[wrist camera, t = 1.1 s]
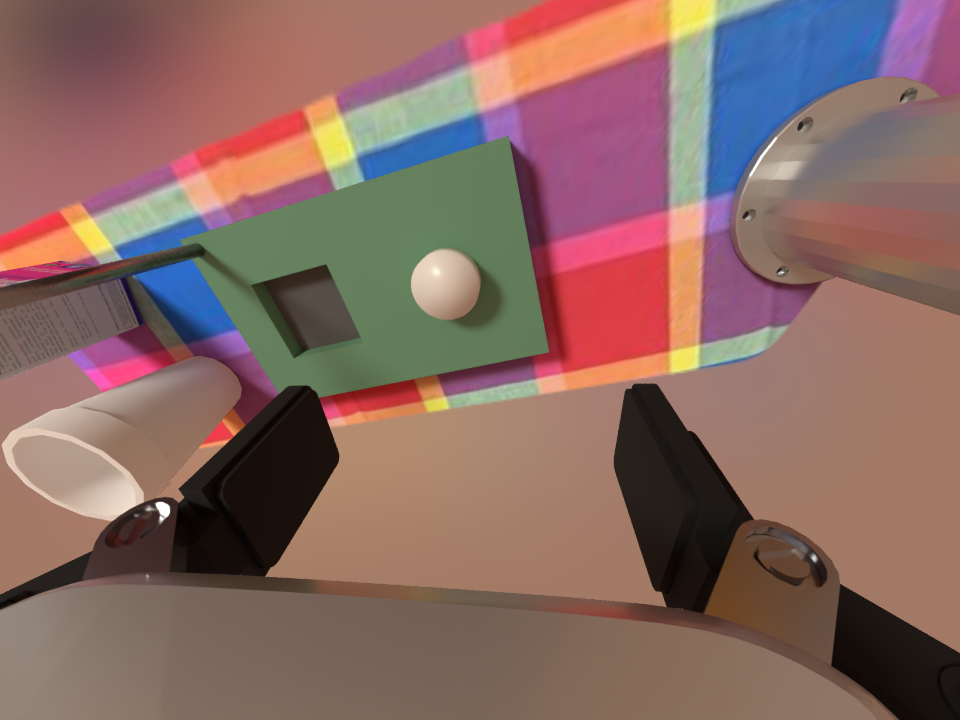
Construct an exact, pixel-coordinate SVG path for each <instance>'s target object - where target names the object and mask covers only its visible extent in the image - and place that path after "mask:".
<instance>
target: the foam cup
mask: <svg viewBox="0 0 960 720" xmlns="http://www.w3.org/2000/svg"><path fill="white" fill-rule="evenodd" d="M241 392H242V388H241V385H240V382H239V380H238V378H237V376H236V375H235V374H234V373H233V372H232V371H231V370H230V369H229V368H228V367H227V366H225V365H224V364H222V363H220V362H219V361H217V360H215V359H212V358H208V357H204V356H196V357H190V358H187V359H186V360H181V361H179V362H177V363H174V364H172V365H169V366H167V367H164V368H162V369H159V370H157V371H154V372H152V373H150V374H147V375H145V376H142V377H140V378H137V379H135V380H132V381H130V382H127V383H125V384H123V385H120V386H118V387H115V388H113V389H110V390H108V391H105V392H103V393H101V394H98V395H96V396H93V397H91V398H88V399H86V400H83V401H81V402H78V403H76V404H74V405H71V406H69V407H67V408H62V409H56V410H52V411H50V412H48V413H46V414H44V415H42V416H40V417H38V418H36V419H34V420H32V421H31V422H29V423H27V424H25V425H23V426H21V427H19V428H18V429H15V430H14V431H11V433H10V434H9V435H8V437H7V438H6V440H5V441H4V442H3V444H2V448H3V452H4V455H5V458H6V461H7V464H8V465H9V467H10V468H11V469H12V470H13V471H14V472H15V473H16V474H17V475H18V476H19V478H20V479H21V480H22V481H23V482H24V483H25V484H26V485H27V486H29V487H30V488H32V489H33V490H35V491H36V492H38V493H39V494H41V495H42V496H44V497H45V498H47V499H48V500H50V501H51V502H53V503H55V504H57V505H60V506H62V507H64V508H67V509H69V510H71V511H74V512H76V513H78V514H81V515H84V516H89V517H94V518H99V519H104V520H109V521H113V520H115V519H116V518H117V517H118V516H120V515H121V514H123V513H124V512H126V511H128V510H129V509H131V508H133V507H135V506H137V505H139V504H141V503H143V502H146V501H149V500H152V499H155V498H156V497H157V496H158V495H159V494H161V493H162V492H163V491H164V490H165V489H166V488H167V487H168V486H169V485H170V481H171V479H172V478H173V477H174V476H175V474H176V473H177V472H178V471H179V470H180V469H181V467H182V466H183V465H184V464H185V463H186V461H187V460H188V459H189V458H190V457H191V455H193V453H194V452H195V451H196V450H197V449H198V448H199V446H200V445H201V444H202V443H203V442H204V441H205V439H206V438H207V437H208V436H209V435H210V434H211V432H212V431H213V430H214V429H215V428H216V427H217V425H218V424H219V423H220V422H221V421H222V420H223V418H224V417H225V416H226V415H227V414H228V413H229V411H230V410H231V409H232V408H233V407H234V406H235V404H236V403H237V401H238V400H239V399H240V398H241Z"/></svg>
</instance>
